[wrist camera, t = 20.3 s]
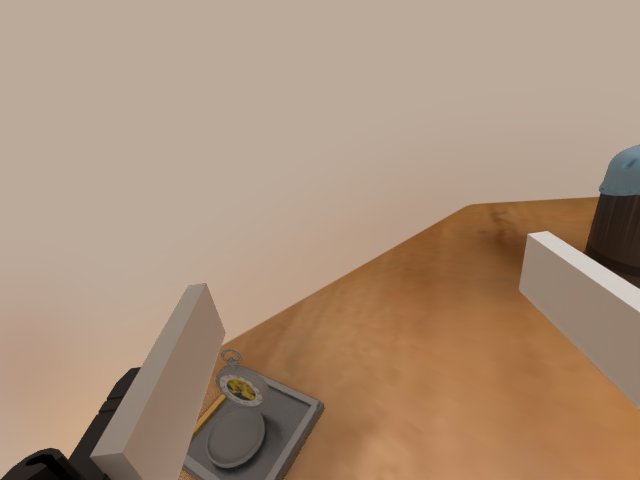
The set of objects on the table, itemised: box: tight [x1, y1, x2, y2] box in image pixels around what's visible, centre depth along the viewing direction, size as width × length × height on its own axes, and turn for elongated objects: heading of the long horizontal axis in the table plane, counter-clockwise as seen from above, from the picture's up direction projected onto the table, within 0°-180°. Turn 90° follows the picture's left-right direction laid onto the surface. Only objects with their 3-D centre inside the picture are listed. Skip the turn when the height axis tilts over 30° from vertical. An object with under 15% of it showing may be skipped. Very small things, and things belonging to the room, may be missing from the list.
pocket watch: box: [206, 350, 270, 468], centre depth 35 cm, size 8×8×10 cm
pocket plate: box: [182, 372, 325, 480], centre depth 37 cm, size 13×13×1 cm
